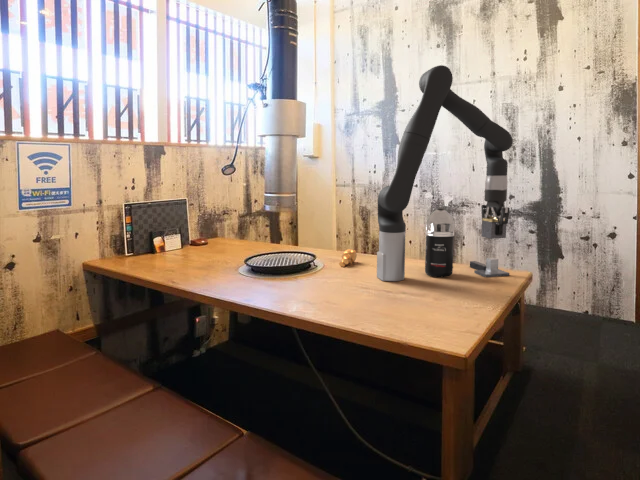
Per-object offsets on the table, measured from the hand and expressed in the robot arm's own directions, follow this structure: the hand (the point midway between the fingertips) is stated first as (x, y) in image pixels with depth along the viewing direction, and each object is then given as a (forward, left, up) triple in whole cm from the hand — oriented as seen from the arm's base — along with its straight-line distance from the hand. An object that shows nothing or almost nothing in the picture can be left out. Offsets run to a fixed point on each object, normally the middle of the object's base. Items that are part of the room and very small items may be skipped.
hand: (493, 234), depth 164 cm
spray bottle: (-20, +4, -15) cm, 25 cm away
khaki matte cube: (0, 0, -1) cm, 1 cm away
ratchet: (0, +5, -15) cm, 16 cm away
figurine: (-47, +30, -16) cm, 58 cm away
